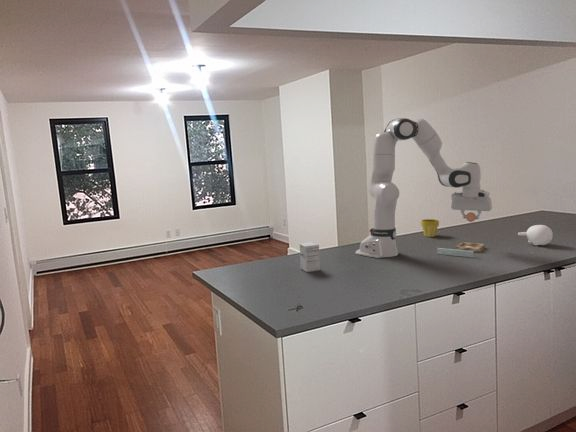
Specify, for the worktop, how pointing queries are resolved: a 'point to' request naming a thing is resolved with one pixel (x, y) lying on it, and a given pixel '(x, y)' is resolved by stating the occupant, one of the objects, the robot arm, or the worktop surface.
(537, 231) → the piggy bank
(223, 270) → the worktop surface
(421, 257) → the worktop surface
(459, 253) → the aqua wall
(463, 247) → the birch tray
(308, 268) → the supplement box
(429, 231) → the plant pot
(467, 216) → the coral ball
